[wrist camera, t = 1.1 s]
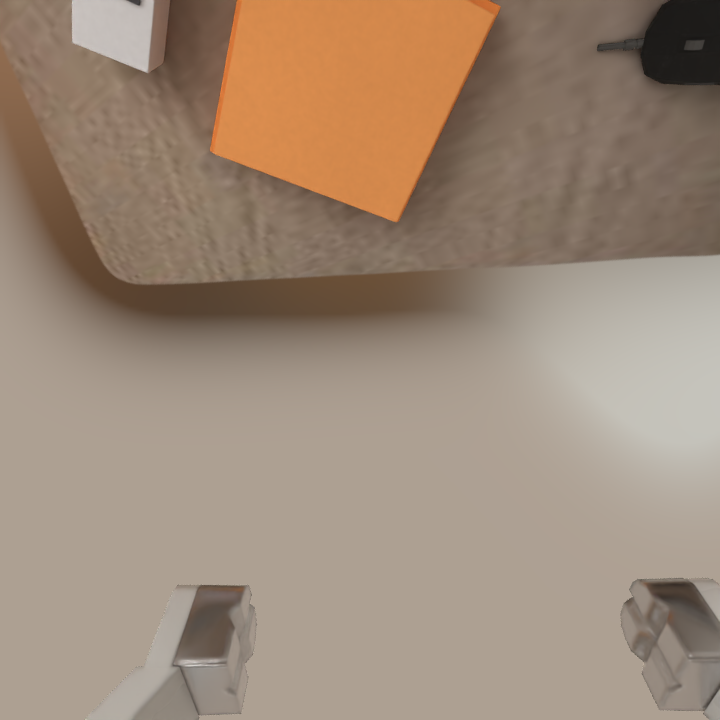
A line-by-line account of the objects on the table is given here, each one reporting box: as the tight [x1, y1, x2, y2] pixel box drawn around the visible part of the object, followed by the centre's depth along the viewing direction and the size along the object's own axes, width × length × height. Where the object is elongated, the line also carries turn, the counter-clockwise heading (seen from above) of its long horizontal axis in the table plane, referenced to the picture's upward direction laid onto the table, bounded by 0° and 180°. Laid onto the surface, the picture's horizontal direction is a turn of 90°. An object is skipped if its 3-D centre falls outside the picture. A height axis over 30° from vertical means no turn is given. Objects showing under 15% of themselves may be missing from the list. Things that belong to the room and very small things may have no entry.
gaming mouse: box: [597, 0, 720, 85], centre depth 33 cm, size 6×15×4 cm, turn 96°
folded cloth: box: [210, 0, 501, 222], centre depth 34 cm, size 16×16×4 cm
